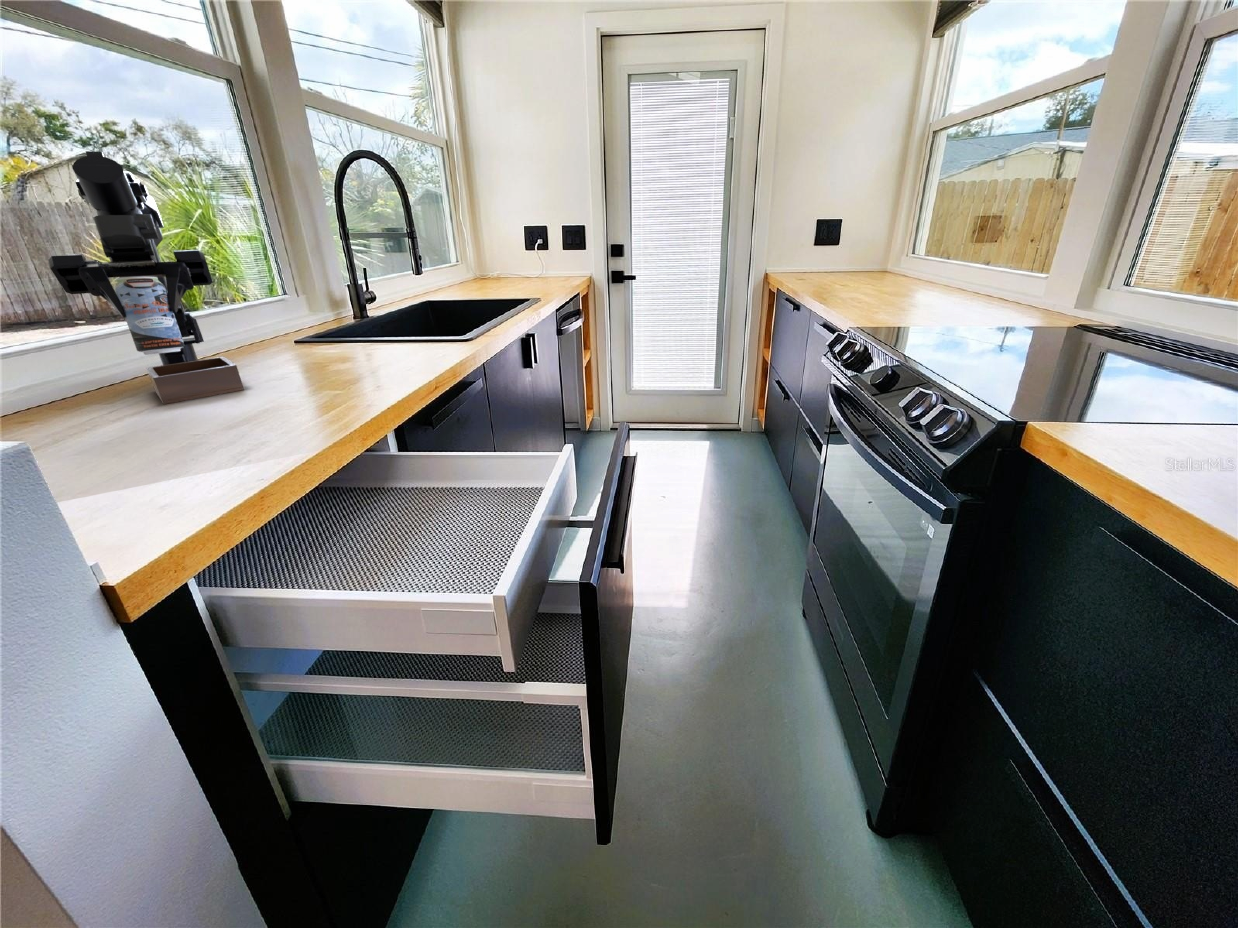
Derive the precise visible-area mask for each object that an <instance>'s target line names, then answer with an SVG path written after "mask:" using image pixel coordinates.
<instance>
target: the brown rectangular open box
mask: <svg viewBox="0 0 1238 928" xmlns="http://www.w3.org/2000/svg"><path fill="white" fill-rule="evenodd" d="M146 370H147V374H148V376H149V378H150V380H151V383H152V386H153V388H154V391H155V394H156V395H157V396H158V398H159V399H160V401H161V403H162V404H163V405H168V404H174V403H179V402H185V401H191V400H195V399H201V398H207V397H211V396H216V395H217V396H218V395H222V394H223V395H224V394H229V393H233V392H240V391H244V390H245V388H244V384H243V382H242V379H241V375H240V372H239V369H238V366H237V364H235V363H234V362H232V361H231V360H230V359H228V358H226V357H225V356H217V357H210V358H204V359H198V360H196V361H189V362H182V363H175V364H169V365H163V364H162V365H154V366H149V367H146Z"/></svg>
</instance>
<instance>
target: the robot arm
mask: <svg viewBox="0 0 1238 928" xmlns="http://www.w3.org/2000/svg"><path fill="white" fill-rule="evenodd" d="M84 152H85V156H82V157H79V158H77V159H75V161H74V162H73V164H72V165H71V169H72V171H73V173H74V174H75V176H76V178H77V179H76V180H75V181H74V182H75V185H76V187H77V189H78V191H79V193H80V196H81V197H82V198H83V199H84V200H85V201H86V203H88V204H90V206H91V207H92V208H93V210H96V215H95V216H94V217H93V220H94V221H93V222H94V224H95V226H96V229H97V234H98V235H99V240H100V243H101V248H102V251H103V253H104V255H105V257H106V258H108V259H109V261H104V262H103V261H102V262H100V261H99V260H97V259H87V258H86V257H85V254H63V255H62V254H61V255H60V254H59V255H51V256H50V257H49V259H48V264H49V265H48V266H49V269H50V271H51V272H52V274H53V275H54V277H55V278H56V280H57V281H58V283H59V285H60V286H61V288H62V289H63V291H64V292H65V293H67V294H70V295H82V294H83V295H84V294H90V295H91V296H93V297H101V298H102V299H104V301H106V302H107V303H109V304H110V305H111V306H112V307H113V308H114V309H115V310H116V312H117V313H118V314H120V316H121V318H124V319H125V317H126V315H125V312H124V310H123V307H122V305H121V303H120V301H119V299H118V296H117V293H116V291H115V287H114V286H113V284H112V282H111V280H110V278H126V277H157V278H158V280H159V281H160V282H161V283H162V284H163V285H164V286H165V288H166V291H167V294H168V298H169V303H170V306H171V309H172V311H173V313H174V315H175V318H176V321H177V324H178V327H179V330H180V333H181V336H182V339H183V342H184V345H185V346H184V347H182V348H181V349H180V350H181V351H177V352H168V353H159V354H158V355H159V358H160V361H161V364H162V365H169V364H175V363H182V362H189V361H196V360H199V359H198V355H197V352H196V350H195V347H194V345H193V344H197V345H199V344H201V343H204V342H205V340H204V338H203V335H202V331H201V329H200V326H199V323H198V320H197V319H196V318H195V317H193V315H192V314H191V313H190V311H186V310H185V308H184V306H183V303H182V299H183V297H184V296H185V294H186V293H187V292H188V291H189V290H190V291H191V290H193V289H194V288H195V287H199V286H211V284H213V278H212V276H211V275H212V274H211V272H210V269H209V265H208V263H207V260H206V256H205V253H204V252H202V251H201V250H199V249H188V250H173V251H172V252H173V256H174V259H175V261H172V260H171V261H162V260H161V258H160V255H159V250H158V248H157V247H158V246H159V245H160V244H161V243H162V241H163V240H164V235H163V233H162V230H161V229H164V228H165V226H164V223H163V221H162V220H163V219H162V217H161V214H160V211H159V209H158V207H157V206H158V205H157V203H156V201H155V198H154V197H153V196H152V195H150V194H149V191H148V189H147V186H146V185H145V184H143V183H142V182H141V181H140V179H136V178H135V176H134V175H133V174H132V173H131V172H130V171H125V170H124V168H123V166H122V165H121V164H120V163H118V162H117V160H116V161H115V160H114V159H112V158H109V157H106V156H105V155H104V152H103V151H96V150H95V151H94V150H93V151H91V150H90V151H89V150H85V151H84Z"/></svg>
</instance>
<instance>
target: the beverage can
mask: <svg viewBox="0 0 1238 928" xmlns="http://www.w3.org/2000/svg"><path fill="white" fill-rule="evenodd" d="M114 290H115V292H116V294H117V296H118V299H119V301H120V303H121V305H122V307H123V310H124V312H125V315H126V317H125V318H124V319H125V321H126V324H127V326H128V327H127V328H128V329H129V333H130V335H131V338H132V340H133V345H134V346H135V349H136V351H137V352H139V353H143V355H145V356H148V355H149V356H150V355H157V354H158V355H159V353H168V352H177V351H181V350H180V349H181V348H182V347H184V346H185V345H184V342H183V339H184V338H183V337H182V336H181V333H180V330H179V327H178V324H177V321H176V318H175V315H174V313H173V311H172V309H171V306H170V303H169V298H168V294H167V291H166V288H165V286H164V285H163V284H162V283H161V282H160V281H159V280H158V278H157V277H126V278H119V277H117V278H116V285H115V287H114Z"/></svg>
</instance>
